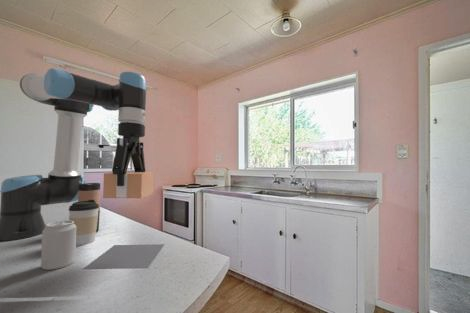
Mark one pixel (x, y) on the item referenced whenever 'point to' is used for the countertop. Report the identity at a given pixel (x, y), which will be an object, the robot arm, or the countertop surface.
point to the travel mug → (90, 195)
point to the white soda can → (58, 245)
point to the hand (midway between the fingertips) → (130, 194)
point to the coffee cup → (84, 220)
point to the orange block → (129, 184)
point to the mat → (126, 257)
